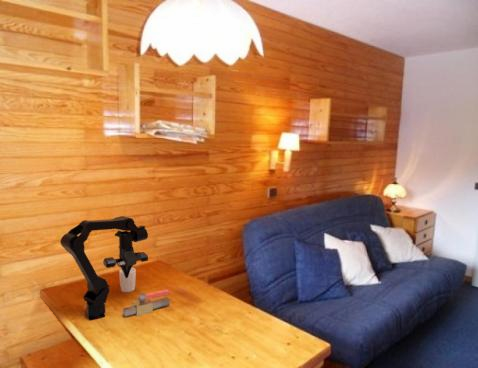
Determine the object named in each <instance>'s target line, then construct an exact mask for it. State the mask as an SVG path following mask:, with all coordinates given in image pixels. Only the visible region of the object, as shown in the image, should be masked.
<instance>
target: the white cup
mask: <svg viewBox="0 0 478 368" xmlns="http://www.w3.org/2000/svg"><path fill="white" fill-rule="evenodd" d="M136 273H137V270H136V268H134V267H132V268H131V270H130V273H129V276H128V278H125V276H124V273H123V271H122V269H121V268H120V269H119V273H118V275H119V285H120V292H122V293H130V292H134V290H135V289H136V277H137V276H136V275H137V274H136Z"/></svg>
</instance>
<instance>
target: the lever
mask: <svg viewBox="0 0 478 368" xmlns="http://www.w3.org/2000/svg"><path fill="white" fill-rule="evenodd" d="M165 296H170V290H169V289H168V288H167V289H162V290H157V291H154V292H153V291H151V292H149V293H141V294H139V295H138V300H139V301H145V300H148V299H149V300H150V299H151V300H152V299H155V298H156V299H157V298H161V297H165Z"/></svg>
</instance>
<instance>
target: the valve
mask: <svg viewBox="0 0 478 368" xmlns="http://www.w3.org/2000/svg"><path fill="white" fill-rule="evenodd" d="M170 304H171V301H170V298H169V297H168V296H167V297H164V298H160V299H159V298H158V299H155V300H152V301H151V300H150V299H148V300H145V301H139V299H136V300H132V301H131V306H126V307H123V308H122V314H123V317H124V318H125V317H130V316H133V315H134V316H136V317H137V318H138V317H140V316H145V315H148V314H152V313H154V311H153V310H156V309H160V308H164V307H168V306H170Z"/></svg>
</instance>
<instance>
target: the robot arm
mask: <svg viewBox="0 0 478 368" xmlns="http://www.w3.org/2000/svg"><path fill="white" fill-rule="evenodd" d="M106 230H117V232H115V234H114V236H115V237H116V238H117V237H118V242H119V243H118V248H119V249H118V250H119V253H118V258H114V257H113V256H111V257H105V258H104V259H103V263H102V264H103V266H104V267H105V268H107V269H110V268H115V266H116V265H117V266H118V267H119V268H120V269H122V271H123V273H124V276H125V278H128V276H129V273H130V270H131V268H133V267H134V266H136V265H137V262H138V261H140V262H148V261H149V255H148V254H147V253H145V252H144V251H142V252H140V251H138V252H135V249H134V246H133V243H138V242H142V241H145V240H148V238H149V233H148V231H147V229H146V227H145V225H139V226H137V225H136V223H135V221H134V219H133V218H132V217H128V216H124V215H121V216H117V217H114V218H112V219H96V220H94V219H93V220H81V222H79V224H77V225H76V226H74V227H73V228H71V229H69V231H68V232H67V233H65V234H64V235H63V236H62V237H61V238H60V241H59V242H60V245H61V247H62V248H63V249H64V250H65V251H66V252H68V254H69V255H70V256H72V257H73V259H74V261H75V263H76V264H77V266H78V268H79V270H80V272H81V273H82V275H83V276H84V279H85V280H86V282H87V285H86V287H87V291H86V292H85V293H84V295H83V297H82V298H83V300H84V301H85V302H86V313H85V315H86V317H87V319H88V321H94V320H97V319H100V318H106V302H107V299H108V295H109V293H110V285H109V284H108V281H107V279H106V278H103V277H100V276H99V275H98V274H97V272H96V270H95V269H94V267H93V265H92V262H91V261H90V260H89V258H88V256H87V254H86V252H85V248H86V247H85V244H84V243H85V242H86V241H87V240H88V239H89V236H90V234H91V232H93V231H106Z"/></svg>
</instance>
